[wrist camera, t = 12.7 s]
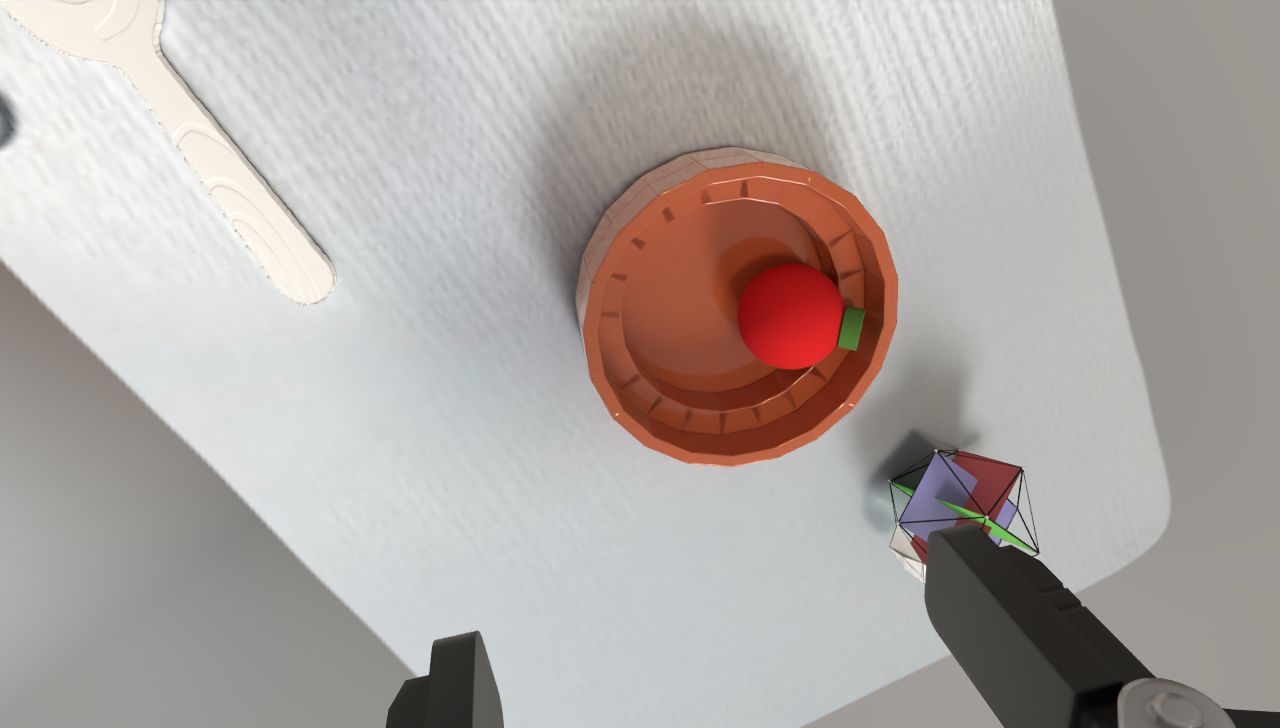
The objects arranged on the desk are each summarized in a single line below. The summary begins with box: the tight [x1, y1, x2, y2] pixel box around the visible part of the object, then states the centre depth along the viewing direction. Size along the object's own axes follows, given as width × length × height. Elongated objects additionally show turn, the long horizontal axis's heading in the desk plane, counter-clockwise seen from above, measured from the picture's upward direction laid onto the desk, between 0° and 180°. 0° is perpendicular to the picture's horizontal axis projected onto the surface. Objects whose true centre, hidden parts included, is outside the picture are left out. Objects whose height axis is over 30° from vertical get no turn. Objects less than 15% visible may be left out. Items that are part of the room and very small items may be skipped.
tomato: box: [737, 264, 865, 369], centre depth 32 cm, size 5×5×5 cm
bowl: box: [575, 147, 898, 467], centre depth 33 cm, size 13×13×4 cm
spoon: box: [0, 0, 336, 306], centre depth 28 cm, size 5×18×1 cm, turn 27°
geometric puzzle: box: [888, 449, 1042, 584], centre depth 38 cm, size 7×7×8 cm
